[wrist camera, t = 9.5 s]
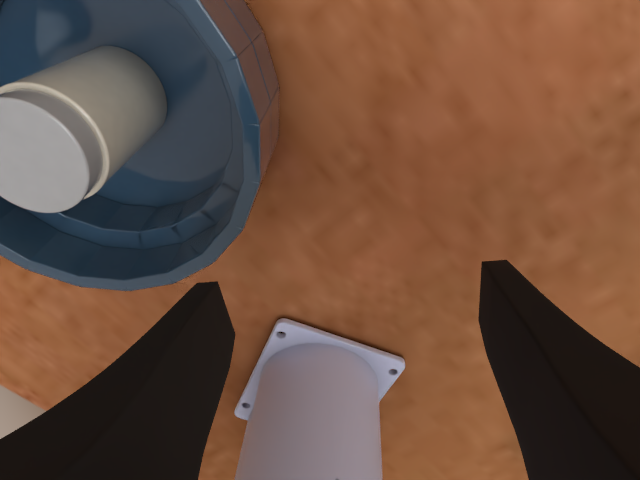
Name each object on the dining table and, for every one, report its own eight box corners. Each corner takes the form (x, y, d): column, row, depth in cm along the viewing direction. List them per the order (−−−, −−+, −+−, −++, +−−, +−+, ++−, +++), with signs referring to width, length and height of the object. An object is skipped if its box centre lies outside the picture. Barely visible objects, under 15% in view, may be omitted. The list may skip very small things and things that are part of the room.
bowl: (233, 261, 24) (207, 329, 20) (-30, 168, 22) (-120, 223, 18) (329, -2, 17) (320, 18, 13) (-45, -173, 15) (-200, -215, 11)
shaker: (158, 155, 20) (86, 234, 15) (67, 121, 20) (-42, 190, 14) (176, 69, 18) (100, 125, 13) (75, 28, 18) (-49, 68, 12)
